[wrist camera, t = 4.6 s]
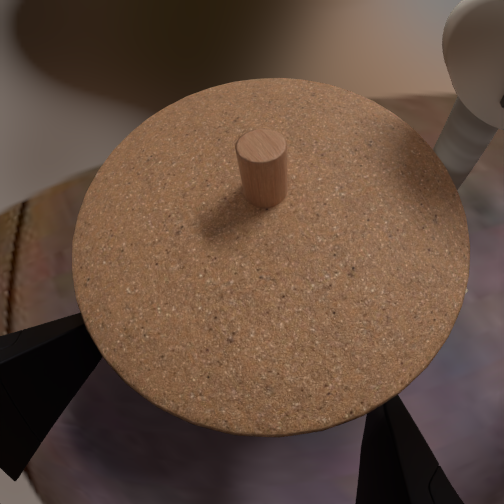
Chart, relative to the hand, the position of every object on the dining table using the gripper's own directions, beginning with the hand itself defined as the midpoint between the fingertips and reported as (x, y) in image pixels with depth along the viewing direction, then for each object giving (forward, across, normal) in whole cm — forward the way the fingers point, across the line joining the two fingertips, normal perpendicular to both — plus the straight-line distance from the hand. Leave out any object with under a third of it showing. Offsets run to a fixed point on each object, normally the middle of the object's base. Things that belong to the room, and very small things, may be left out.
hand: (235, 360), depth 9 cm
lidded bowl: (+8, 0, +2) cm, 8 cm away
